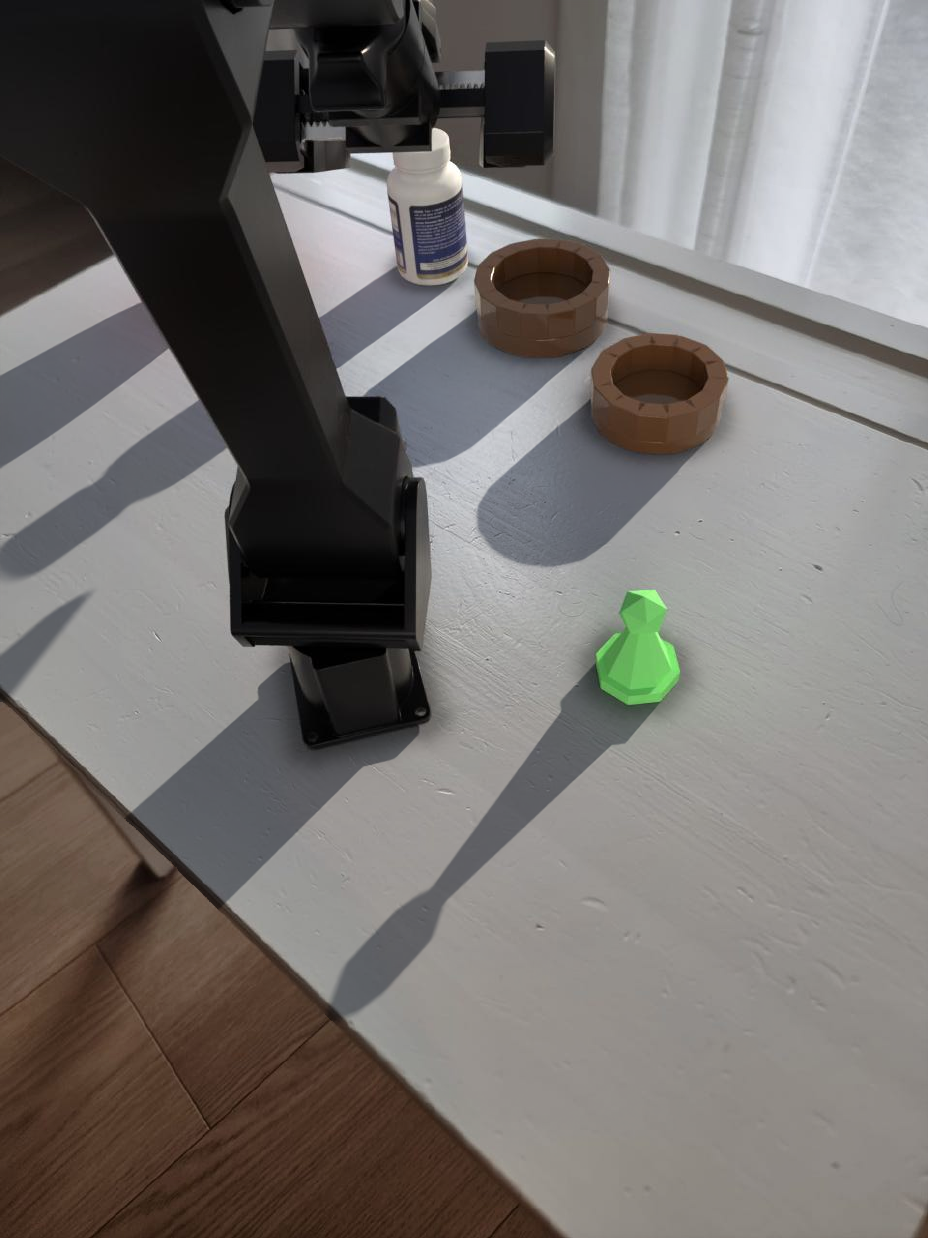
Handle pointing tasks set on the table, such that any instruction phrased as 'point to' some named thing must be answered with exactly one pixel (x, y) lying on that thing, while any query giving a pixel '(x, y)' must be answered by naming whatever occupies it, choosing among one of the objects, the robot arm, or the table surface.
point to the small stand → (657, 393)
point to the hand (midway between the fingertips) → (415, 157)
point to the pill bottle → (428, 214)
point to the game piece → (638, 653)
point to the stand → (542, 297)
